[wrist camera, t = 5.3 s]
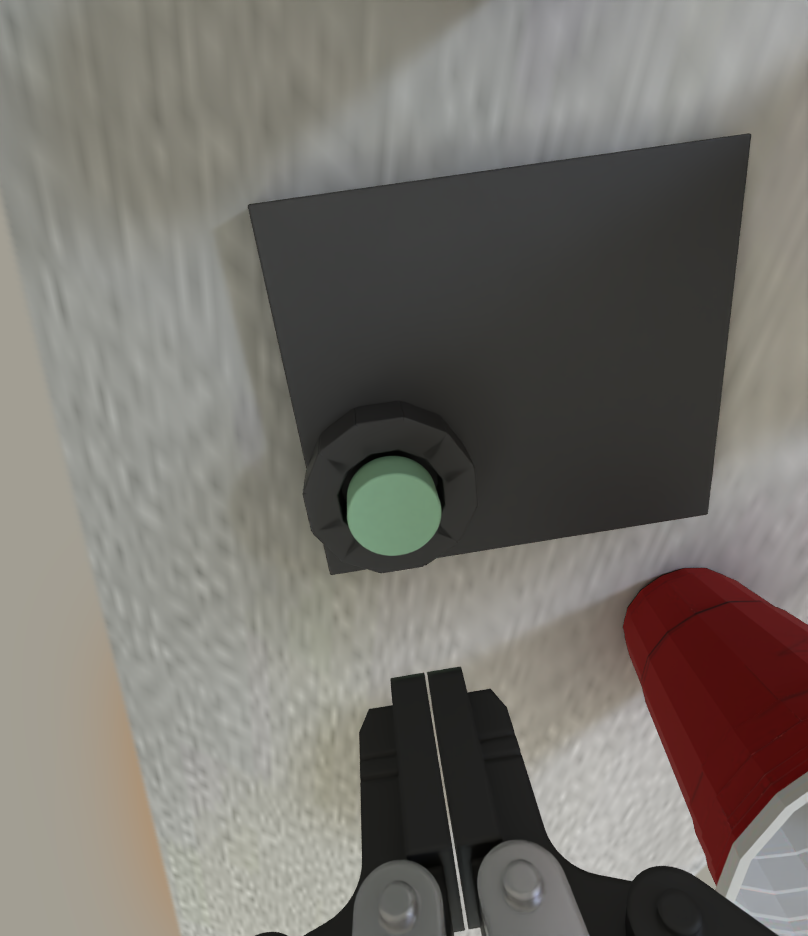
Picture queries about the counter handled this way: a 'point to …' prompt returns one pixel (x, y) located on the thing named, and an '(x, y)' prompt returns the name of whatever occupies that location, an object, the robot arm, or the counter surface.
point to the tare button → (393, 506)
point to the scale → (512, 341)
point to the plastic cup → (732, 731)
